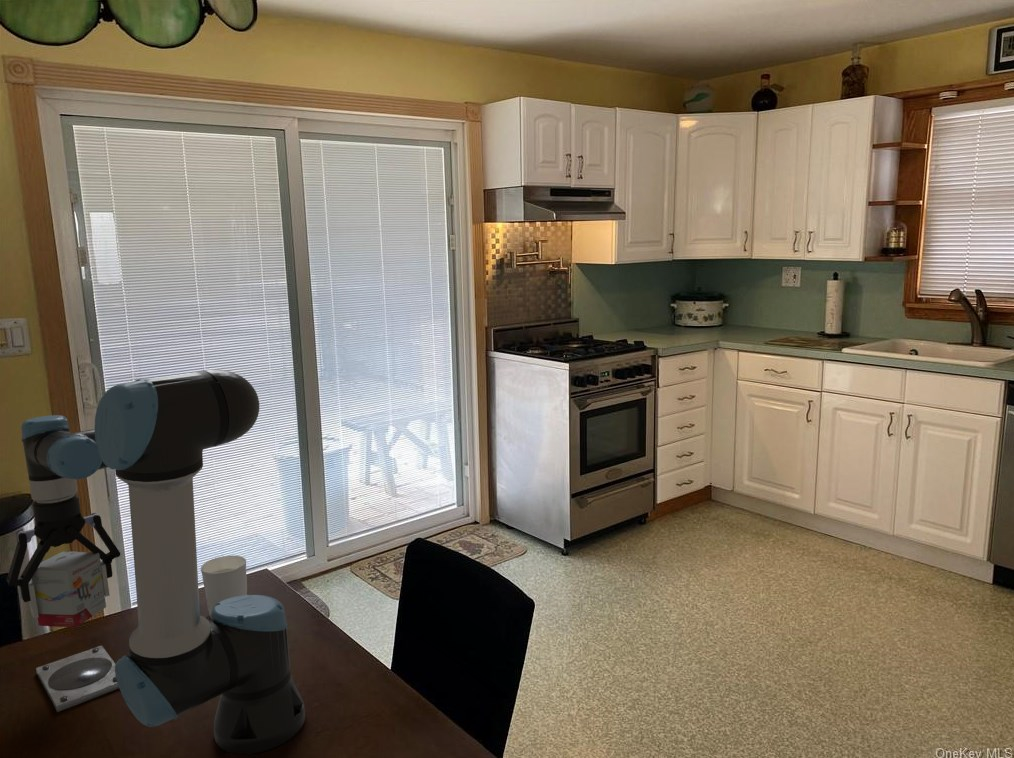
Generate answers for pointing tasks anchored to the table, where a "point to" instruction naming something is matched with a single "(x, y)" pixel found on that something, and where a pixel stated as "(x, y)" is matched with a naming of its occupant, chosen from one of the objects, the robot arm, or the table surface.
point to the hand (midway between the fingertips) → (71, 604)
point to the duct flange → (78, 678)
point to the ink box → (69, 589)
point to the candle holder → (224, 579)
